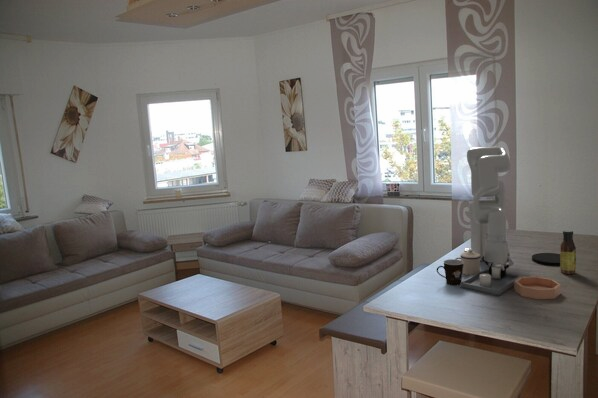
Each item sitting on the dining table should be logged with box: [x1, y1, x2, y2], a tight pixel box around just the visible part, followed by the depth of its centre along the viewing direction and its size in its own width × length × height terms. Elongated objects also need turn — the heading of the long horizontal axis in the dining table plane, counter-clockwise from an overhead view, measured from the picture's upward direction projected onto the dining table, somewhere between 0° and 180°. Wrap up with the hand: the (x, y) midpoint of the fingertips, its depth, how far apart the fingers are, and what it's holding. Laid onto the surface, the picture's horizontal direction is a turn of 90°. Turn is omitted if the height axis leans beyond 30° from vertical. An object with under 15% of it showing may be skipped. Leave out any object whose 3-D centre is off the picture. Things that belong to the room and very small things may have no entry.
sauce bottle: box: [559, 229, 577, 275], centre depth 208 cm, size 7×6×20 cm
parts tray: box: [459, 268, 523, 297], centre depth 201 cm, size 17×24×2 cm
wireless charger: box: [531, 252, 560, 267], centre depth 229 cm, size 18×18×2 cm
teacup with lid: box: [454, 248, 481, 277], centre depth 218 cm, size 12×9×12 cm
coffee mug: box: [436, 258, 464, 287], centre depth 206 cm, size 12×9×10 cm
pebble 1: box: [480, 274, 491, 288], centre depth 197 cm, size 5×5×5 cm
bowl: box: [513, 275, 562, 300], centre depth 189 cm, size 16×16×4 cm
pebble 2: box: [492, 264, 502, 279], centre depth 205 cm, size 5×5×5 cm
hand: (497, 276), depth 206 cm, fingers closed on pebble 2, 4 cm apart
